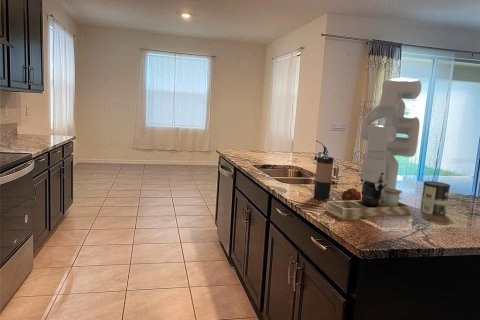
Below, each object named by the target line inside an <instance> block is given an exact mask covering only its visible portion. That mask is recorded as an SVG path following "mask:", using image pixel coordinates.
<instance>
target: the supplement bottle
mask: <svg viewBox="0 0 480 320" xmlns="http://www.w3.org/2000/svg"><path fill="white" fill-rule="evenodd" d="M378 182H379V181H378ZM378 186H379V185H378ZM374 190H376V188H375V183H371V182H368V181H367V184H365V185H364V187H363V194H362V193H361V200H362V201H361V205H363V206H365V207H368V208H373V207H378V203H379V200H380V199H373V197H374Z"/></svg>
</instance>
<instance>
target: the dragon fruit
mask: <svg viewBox="0 0 480 320" xmlns="http://www.w3.org/2000/svg"><path fill="white" fill-rule="evenodd" d="M340 197H341V201H355V200H362V193H361V192H360V191H358V189H356V188H355V187H353V188H348V189H346V190H345V191H343V192H342V195H341V196H340Z"/></svg>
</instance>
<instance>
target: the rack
mask: <svg viewBox="0 0 480 320" xmlns="http://www.w3.org/2000/svg"><path fill="white" fill-rule="evenodd" d="M326 201H327V202H326V208H325V211H326V212H328V213H330V214H331V215H333V216H336V217H338V218H340V219H342V220H344V221H351V220H367V217H377V216H378V217H379V216H399V215H401V216H402V215H403V216H404V215H412V211H413V206H410V205H408V204H405V203H402V202H401V201H399V202H398V207H389V206H386V205H383V201H384V199H379V203H378V207H373V208H368V207H365V206H363V205H361V201H362V199H361V200H355V201H343V200H331V201H330V200H329V201H328V200H326Z"/></svg>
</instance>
